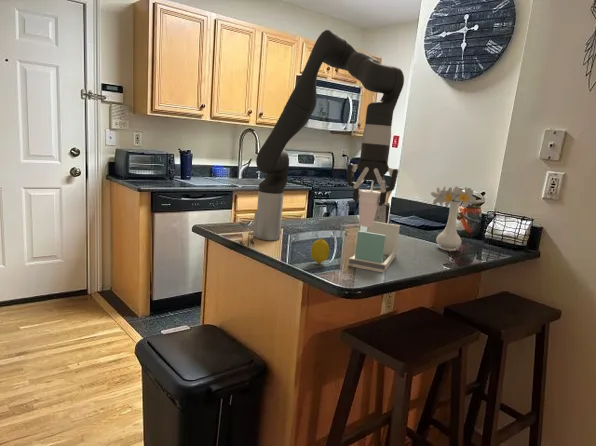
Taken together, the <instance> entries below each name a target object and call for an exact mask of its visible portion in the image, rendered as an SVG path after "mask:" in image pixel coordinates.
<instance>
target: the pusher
mask: <svg viewBox="0 0 596 446" xmlns="http://www.w3.org/2000/svg"><path fill="white" fill-rule="evenodd" d="M385 237H386V235H382V234H376V233H370V232H367V231H364V230H358V231H357V236H356V245H355V252H354V255H355V258H357V259H362V260H367V261H373V262H378V263H383V258H384V255H383V252H384V245H385Z"/></svg>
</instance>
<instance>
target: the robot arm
mask: <svg viewBox="0 0 596 446" xmlns="http://www.w3.org/2000/svg"><path fill="white" fill-rule="evenodd" d="M322 64H325V65H327V66H329V67H331V68H335V69H338V70H339V69H340V70H344V71H346V72H348V74H350V76H351V77H353V78H355V79H356V80H358V81H359V82H360V83H361V84H362V86H363V88H364V89H366V90H367V91H369V92H372V93H378V94H382V96H381V99H380V100H379V101H373V102H370V103H369V104H367V106H366V112H365V113H366V115H365V122H364V128H363V132H362V137H361V146H360V147H361V148H360V154H359V155H360V156H359V157H360V158H359V161H358V163H357V164H353V163H349V164H348V165H347V172H346V173H347V184H346V185H347V186H349V187H351V188H353V193H352V200H353V201H354V203H358V204H359V194H358V193H359V190H361V188H360V187H361V185H362V184H363V182H364V181H372V180H373V181H374V182H377V184H378V186H379V188H380V192H381V194H380V199H379V206H383V204H385V203H387V201H386V200H387V193H389V192H393V191H394V190H395V187H396V184H397V178H398V176H399V172H400V171H399V170H400V169H398V168H391V167H389V165H388V162H389V156H390V155H389V154H390V148H391V141H392V140H391V139H392V125H393V118H394V117H393V115H394V111H395V108H396V106H397V103H398V101H399V98H400V95H401V93H402V91H403V87H404V84H405V83H404V82H405V76H404V72H403V70H402V69H401V68H399V67H397V66H392V65H386V64H382V63H380V62H379V60H377V58H375V57H373V56H371V55H370V54H367V53H364V52H361V51H358V50H357V49H356V48H355V47H354V46H353V45H352V44H351V43H350V42H349V41H348V40H347V39H346V38H344V37H342V36H341V35H339V34H337V33H335V32H333V31H332V30H330V29H325V30H323V31H322V32H321V33H320V35H319V36H318V37H317V39H316V41H315V43H314V45H313V47H312V49H311V51H310V55H309V57H308V59H307V61H306V63H305V66H304V68H303V71H302V73H301V75H300V77H299V79H298V81H297V83H296V85H295V87H294V88H293V90H292V92H291V94H290V96H288V97H289V98H288V100H287V102H286V104H285V105H284V107H283V110H282V112H281V114H280V115H279V118H278V120H277V121H276V123H275V125H274V127H273V129H272V131H271V133H270V134H269V135H268V137H267V139H266V140H265V142H264V143H263V145H261V148H260V149H259V151H258V152H257V156H256V160H255V162H256V163H255V164H256V168H257V170H258V171H259V172H261V173H263V174H266V176H265V178H264V180H262V181H260V183H259V185H258V192H257V194H258V195H257V207H256V211H254V219H253V228H252V229H253V233H252V237H253V238H256V239H259V240H263V241H277V240H280V239H281V229H282V228H281V227H282V220H283V219H282V218H283V217H282V216H283V208H284V207H283V206H284V193H285V188H286V186H287V182H288V175H289V169H290V158H289V157H290V156H289V154H288V152H287V150H285V148H286V145H287V144H288V143H289V141H291V139H292V138H293V137H295V136H296V135H297V134H298V133H299V132H300V131H301V130H302V129H303V128H304V127H305V125H306V124H307V123H308V122H309V120H310V118H311V117H312V115H313V113H314V111H315V109H316V106H317V97H318V95H317V78H318V74H319V72H320V69H321V66H322ZM357 169H358V171H359V173H360V175H359V177H358V178H357V179H356V181H355V177H354V176H355V173H356V171H357ZM387 173H388V175H389V176H390V181H389V185H388V186H387V184H386V180H385V175H386V174H387Z"/></svg>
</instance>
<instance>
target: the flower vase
mask: <svg viewBox="0 0 596 446" xmlns="http://www.w3.org/2000/svg"><path fill="white" fill-rule="evenodd" d="M452 188H453V187H449V188H447V190H446V185H444V187H443V188H442V190H441V189H440V187H436V192H435V191H432V192H431V193H430V195H431V196H432V197H433V198H435V199H434V200H433V202H432V204H433V205H435V206H436V205H437V204H439V205H440V206H443V204H444V206H445V207H446V208H448V207H449V211H448V217H447V223H446V225H445V228H444V229H443V230H442V232H440V233H439V234H438V235H437V236H436V238H435V239H436V243H437V245H438V246H439V249H441V250H442V251H443V250H444V251H449V252H454V251H455V252H456V251H457V248H459V247H460V246H461V245H462V239H461V237H460V235H459V234H458V232H457V216H458V213H459V212H458V211H459V208H460V206H461V204H463V206H464V207H468V206H472V203H475V204H476V203H477V198H476V196H473V194H474V191H473V189H472V188H471V187H466V186H465V187H464V191H463V190H462V189H461V188H459V186H454V188H453V189H452Z"/></svg>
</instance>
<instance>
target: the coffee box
mask: <svg viewBox="0 0 596 446" xmlns="http://www.w3.org/2000/svg"><path fill="white" fill-rule="evenodd" d="M390 208H391V205H390V202H385V204H383V206H379V203H378V207H377V211H376V214H375V218H374V221H375V222H381V223H388V222H389V215H390ZM388 224H389V223H388Z"/></svg>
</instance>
